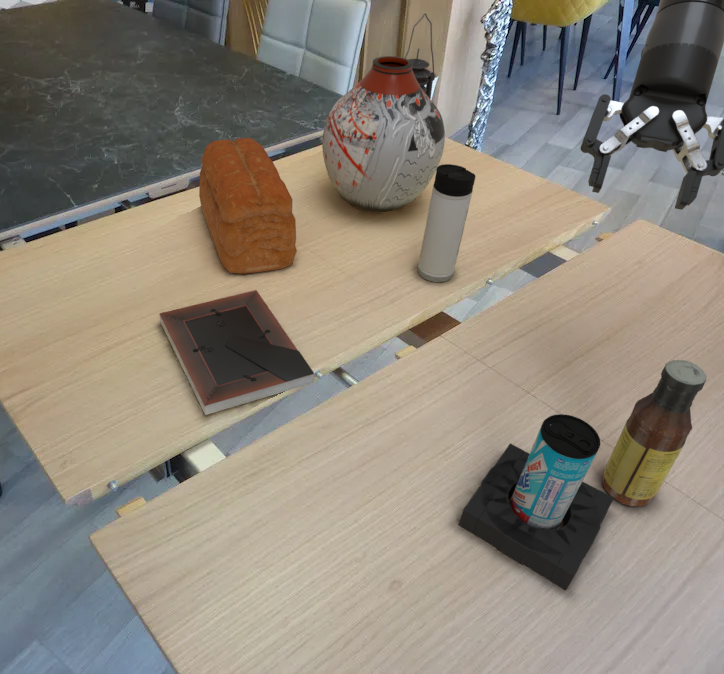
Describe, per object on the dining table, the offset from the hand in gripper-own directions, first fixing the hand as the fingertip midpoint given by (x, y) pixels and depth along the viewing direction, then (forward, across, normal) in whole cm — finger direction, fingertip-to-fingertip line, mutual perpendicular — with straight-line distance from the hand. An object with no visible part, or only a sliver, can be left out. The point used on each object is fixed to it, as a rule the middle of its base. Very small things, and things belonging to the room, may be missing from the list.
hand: (638, 198), depth 73 cm
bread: (+7, -59, +39) cm, 71 cm away
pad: (+38, 0, +9) cm, 38 cm away
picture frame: (+30, -46, +17) cm, 57 cm away
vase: (-9, -40, +55) cm, 69 cm away
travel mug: (+5, -23, +41) cm, 47 cm away
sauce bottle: (+31, +10, +16) cm, 36 cm away
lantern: (-28, -41, +74) cm, 89 cm away
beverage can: (+38, 0, +9) cm, 39 cm away
